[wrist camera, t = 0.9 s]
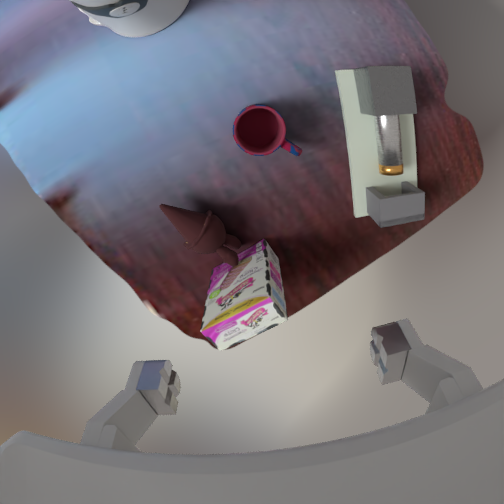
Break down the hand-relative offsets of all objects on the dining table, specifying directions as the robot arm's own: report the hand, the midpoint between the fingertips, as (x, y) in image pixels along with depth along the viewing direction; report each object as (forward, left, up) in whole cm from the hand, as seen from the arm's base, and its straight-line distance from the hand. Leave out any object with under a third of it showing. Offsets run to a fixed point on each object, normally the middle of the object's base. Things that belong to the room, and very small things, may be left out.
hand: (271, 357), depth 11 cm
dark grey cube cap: (-8, +21, -37) cm, 43 cm away
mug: (-4, +3, -38) cm, 38 cm away
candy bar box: (+17, -5, -38) cm, 42 cm away
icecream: (+9, -10, -38) cm, 40 cm away
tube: (-3, +21, -37) cm, 42 cm away
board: (0, +21, -38) cm, 43 cm away
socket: (+10, +21, -37) cm, 43 cm away
